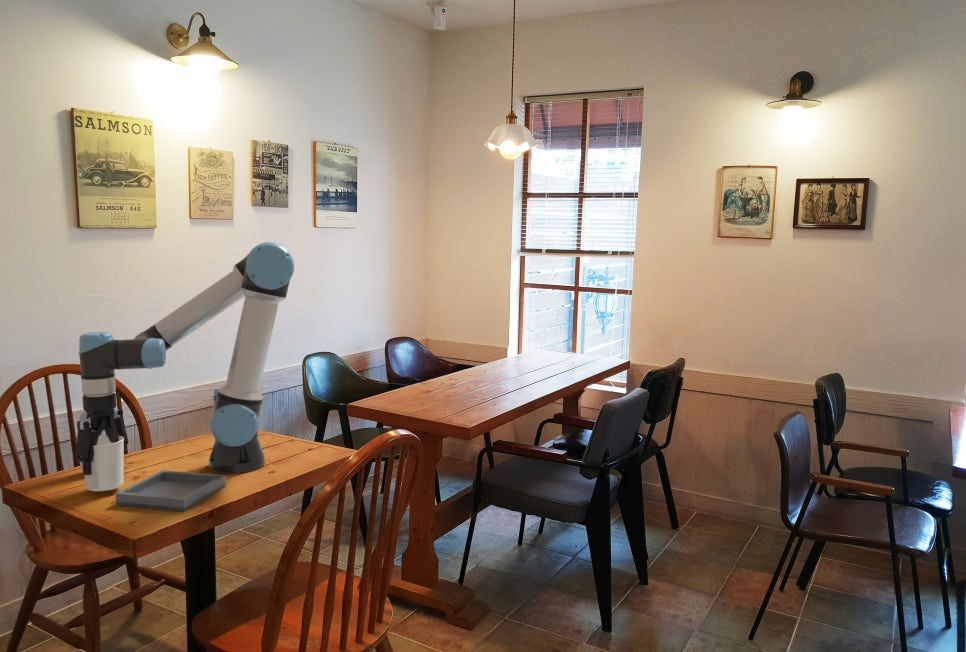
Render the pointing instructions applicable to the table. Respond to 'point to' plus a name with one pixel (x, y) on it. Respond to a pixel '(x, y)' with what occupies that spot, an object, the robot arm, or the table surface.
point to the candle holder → (108, 463)
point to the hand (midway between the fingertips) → (104, 480)
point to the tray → (171, 490)
